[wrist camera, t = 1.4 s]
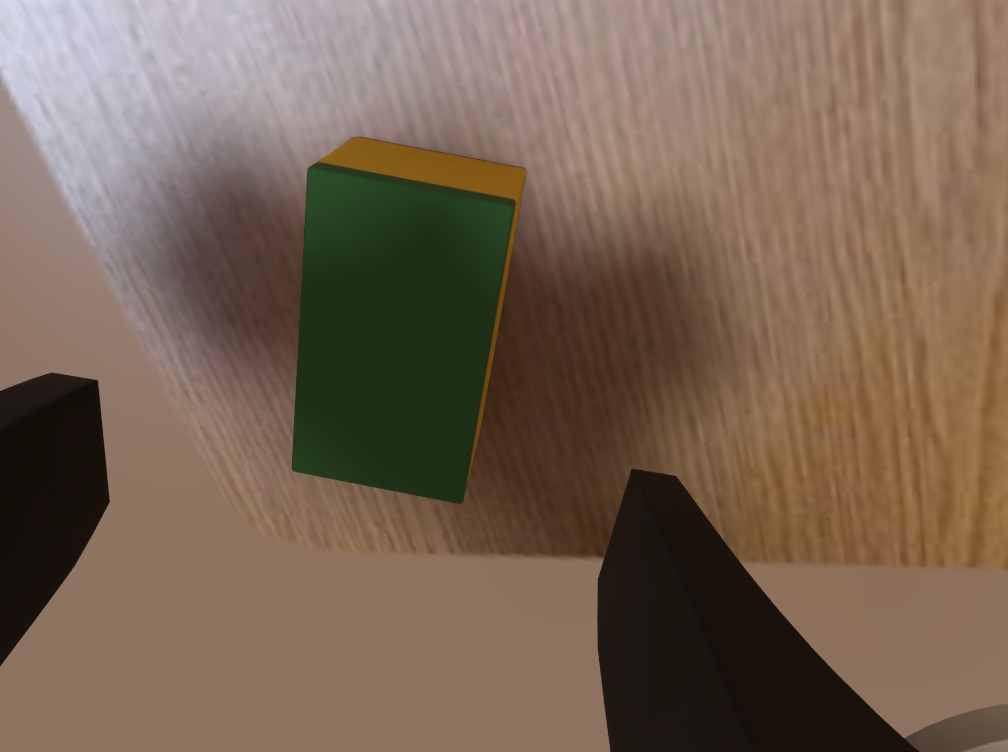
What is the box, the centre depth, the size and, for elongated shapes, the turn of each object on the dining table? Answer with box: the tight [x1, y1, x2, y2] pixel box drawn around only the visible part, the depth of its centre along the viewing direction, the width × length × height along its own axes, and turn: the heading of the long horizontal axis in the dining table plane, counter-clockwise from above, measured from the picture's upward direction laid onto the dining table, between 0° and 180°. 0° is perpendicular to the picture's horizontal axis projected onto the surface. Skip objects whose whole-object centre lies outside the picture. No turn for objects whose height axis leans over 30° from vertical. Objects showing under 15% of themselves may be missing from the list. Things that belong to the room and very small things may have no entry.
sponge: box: [292, 137, 527, 504], centre depth 18 cm, size 7×4×4 cm, turn 170°
